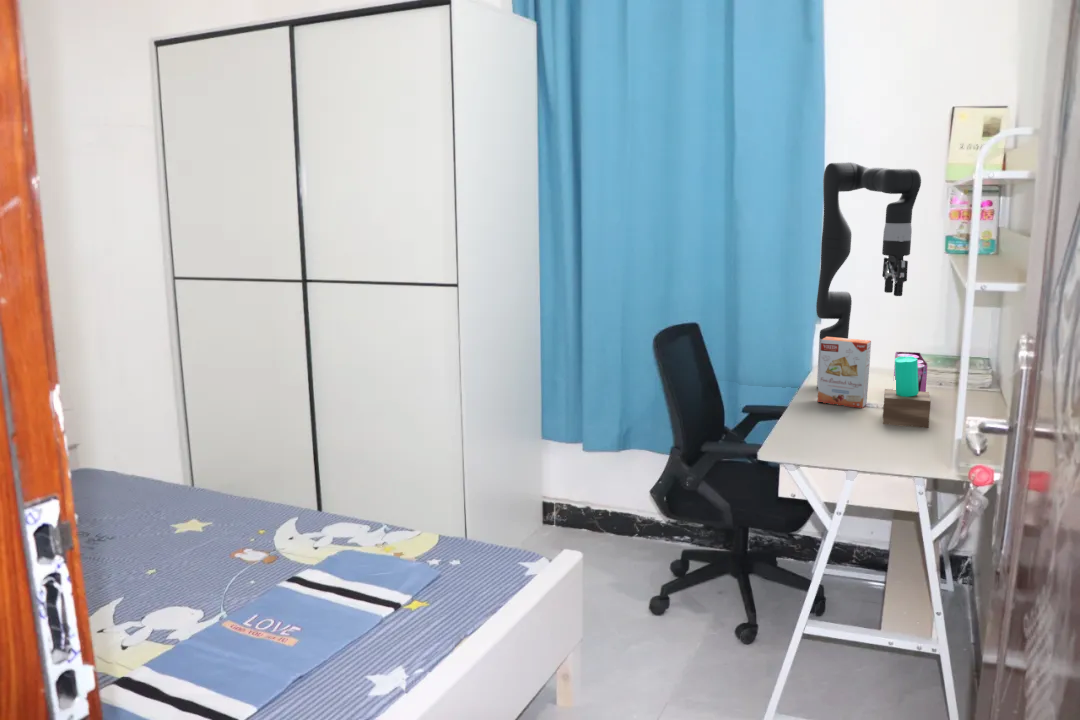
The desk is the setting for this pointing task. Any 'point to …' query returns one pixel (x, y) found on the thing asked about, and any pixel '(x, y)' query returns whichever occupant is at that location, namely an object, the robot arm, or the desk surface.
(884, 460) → the desk surface
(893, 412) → the walnut block
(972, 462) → the desk surface
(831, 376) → the cracker box
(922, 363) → the gum box
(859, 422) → the desk surface
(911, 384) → the candle
